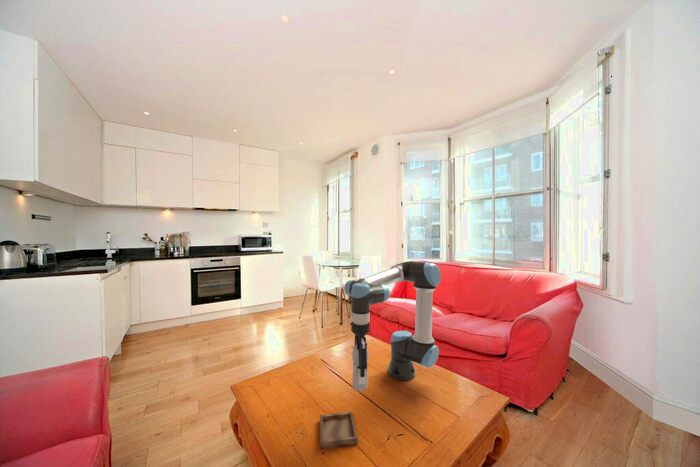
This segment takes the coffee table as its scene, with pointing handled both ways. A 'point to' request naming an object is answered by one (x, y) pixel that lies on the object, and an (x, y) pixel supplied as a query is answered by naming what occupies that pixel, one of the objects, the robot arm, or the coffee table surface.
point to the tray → (337, 430)
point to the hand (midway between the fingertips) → (360, 378)
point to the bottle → (355, 370)
